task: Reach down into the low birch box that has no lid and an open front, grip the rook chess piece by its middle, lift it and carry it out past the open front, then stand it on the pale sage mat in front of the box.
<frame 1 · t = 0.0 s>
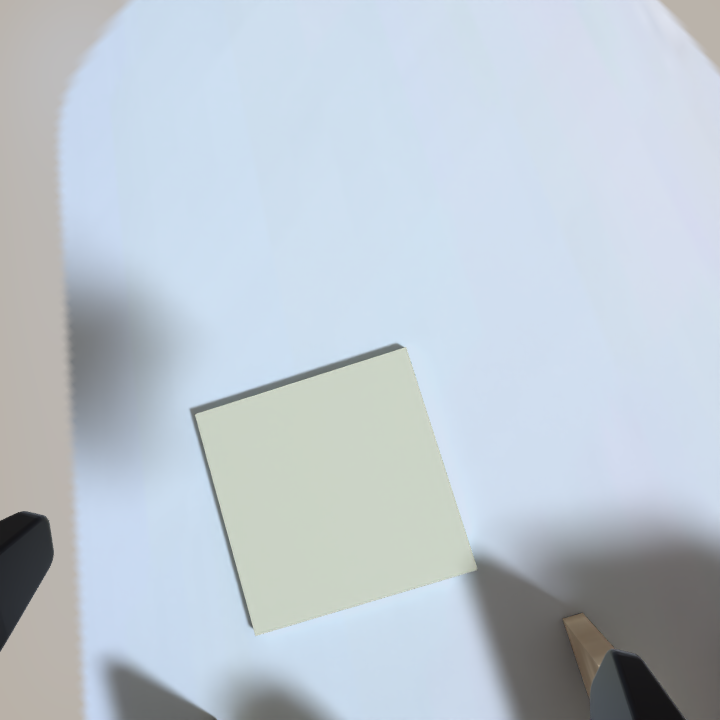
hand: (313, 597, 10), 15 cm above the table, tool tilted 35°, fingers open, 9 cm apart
sage mat: (333, 488, 24), on the table
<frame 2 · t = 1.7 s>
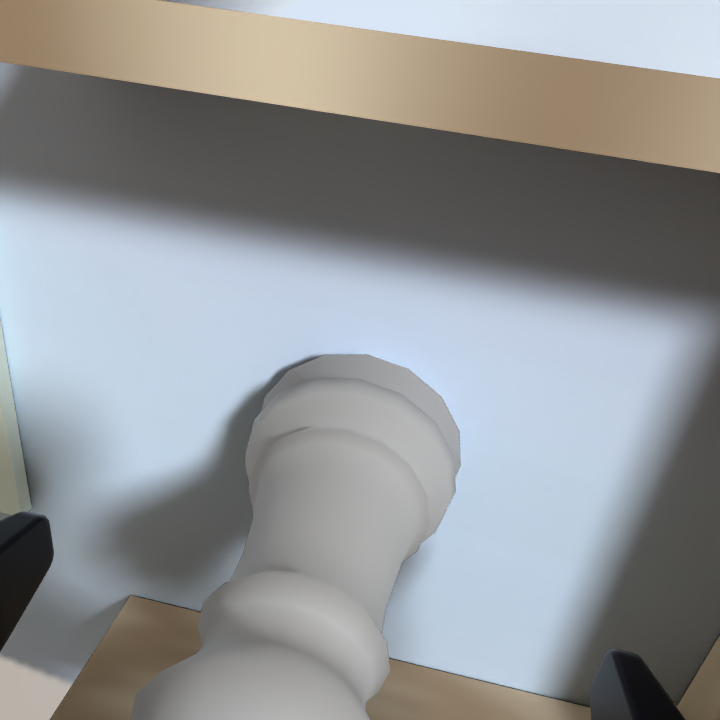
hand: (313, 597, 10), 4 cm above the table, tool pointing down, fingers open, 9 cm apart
rook chess piece: (362, 429, 14), on the table
open box: (450, 453, 13), on the table
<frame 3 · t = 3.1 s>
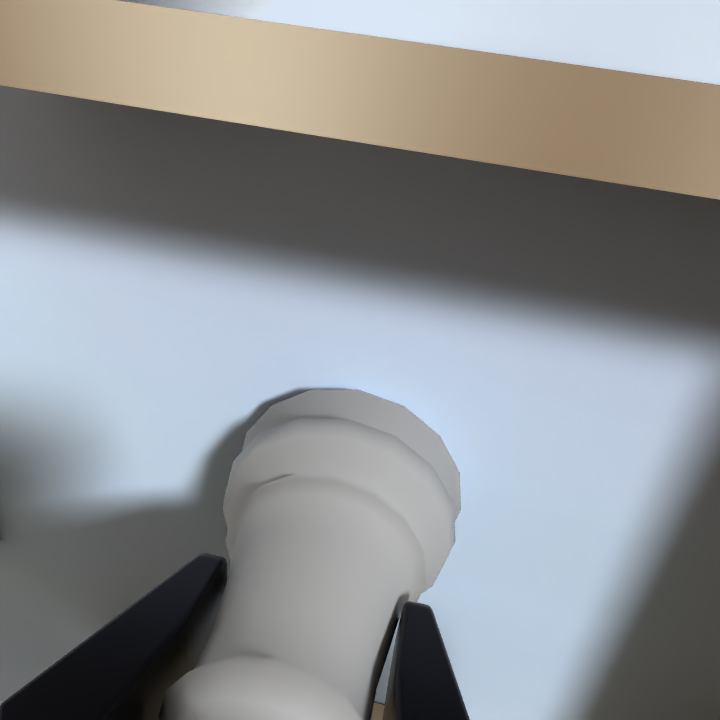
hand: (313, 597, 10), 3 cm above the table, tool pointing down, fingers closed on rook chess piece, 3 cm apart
rook chess piece: (353, 466, 13), on the table, touching gripper
open box: (449, 493, 12), on the table
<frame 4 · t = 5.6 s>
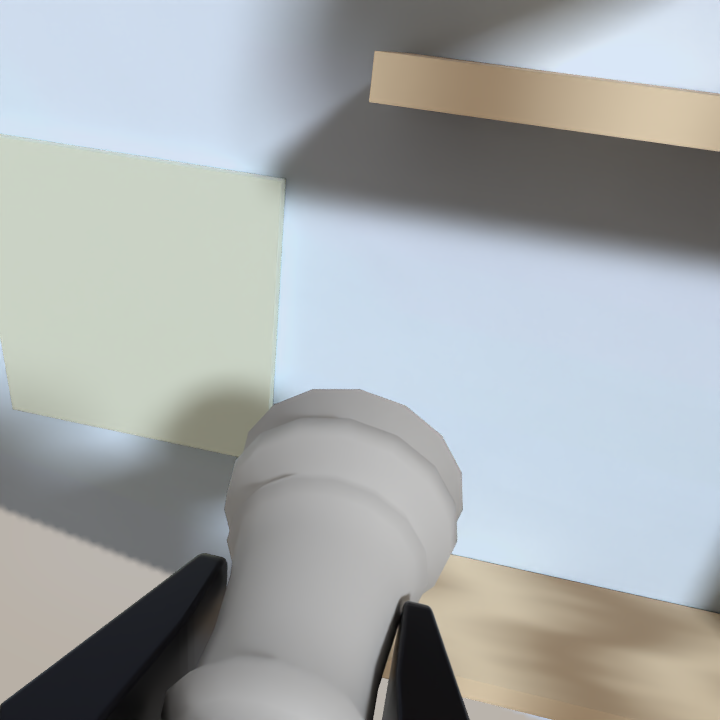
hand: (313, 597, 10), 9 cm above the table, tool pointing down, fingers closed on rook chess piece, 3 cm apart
sage mat: (134, 306, 19), on the table
rook chess piece: (355, 466, 13), point 6 cm above the table, touching gripper
open box: (640, 401, 17), on the table
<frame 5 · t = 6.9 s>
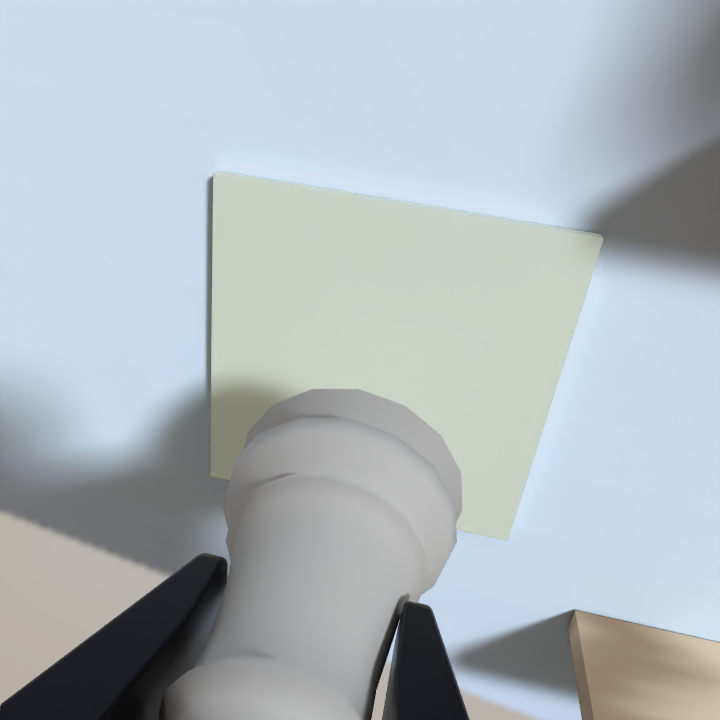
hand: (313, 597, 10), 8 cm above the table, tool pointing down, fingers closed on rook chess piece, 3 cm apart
sage mat: (377, 369, 16), on the table
rook chess piece: (354, 466, 13), point 4 cm above the table, touching gripper
when the fingers open (4 cm above the table, at t = 8.1 s): rook chess piece stays where it is, resting on sage mat.
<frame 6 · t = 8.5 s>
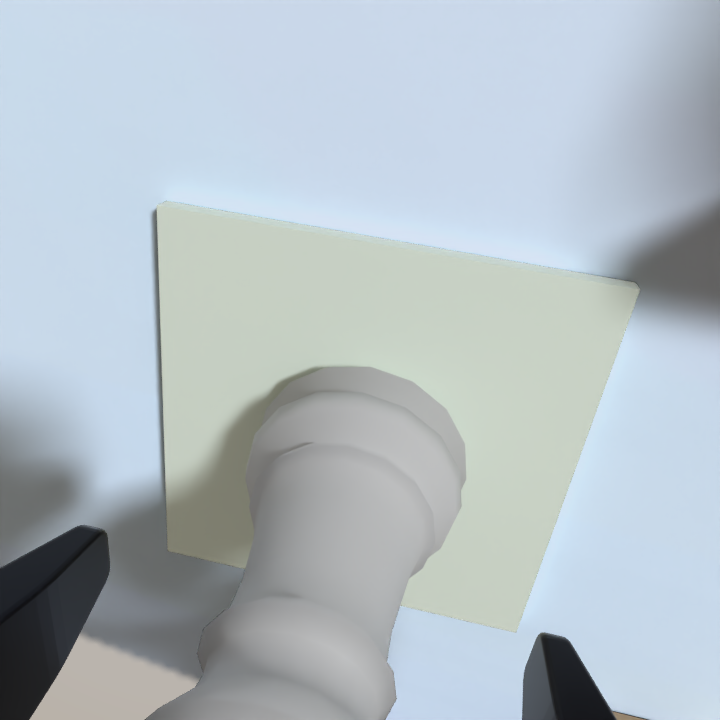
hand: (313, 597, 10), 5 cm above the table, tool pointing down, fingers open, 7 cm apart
sage mat: (361, 435, 14), on the table
rook chess piece: (365, 441, 13), resting on sage mat
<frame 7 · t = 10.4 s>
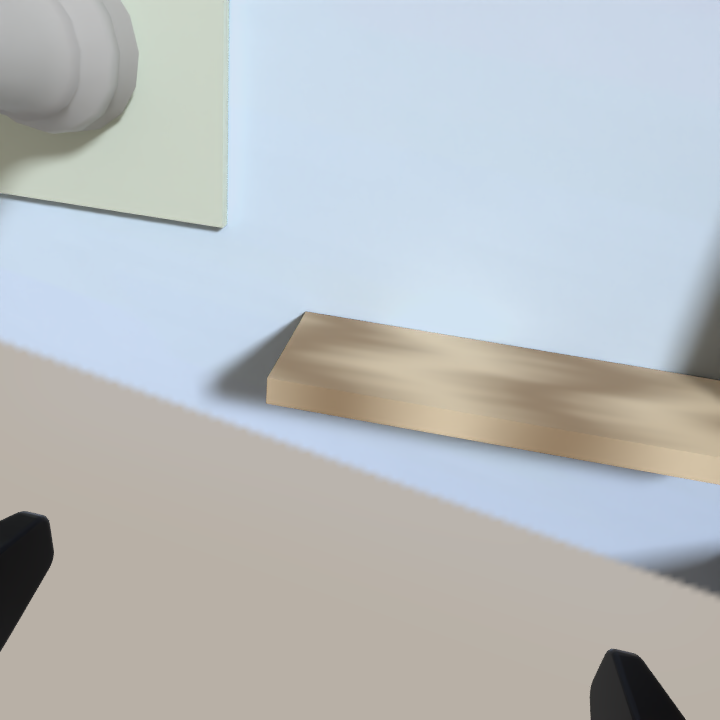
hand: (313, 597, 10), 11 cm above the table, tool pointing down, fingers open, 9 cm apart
sage mat: (74, 44, 17), on the table
rook chess piece: (74, 44, 17), resting on sage mat
open box: (613, 117, 16), on the table
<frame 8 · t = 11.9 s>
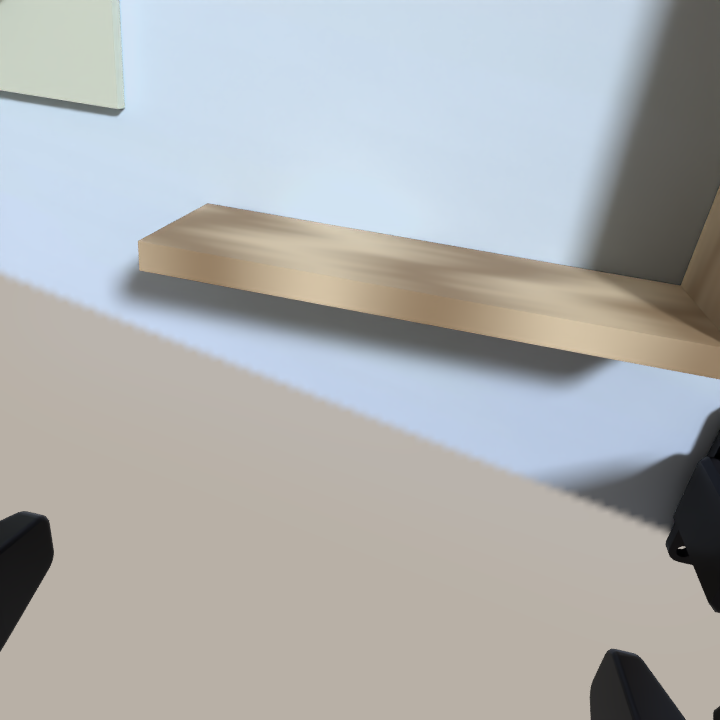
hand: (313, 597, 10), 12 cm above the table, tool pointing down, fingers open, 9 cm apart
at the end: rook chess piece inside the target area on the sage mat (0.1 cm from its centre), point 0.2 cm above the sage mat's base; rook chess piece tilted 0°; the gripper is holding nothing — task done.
